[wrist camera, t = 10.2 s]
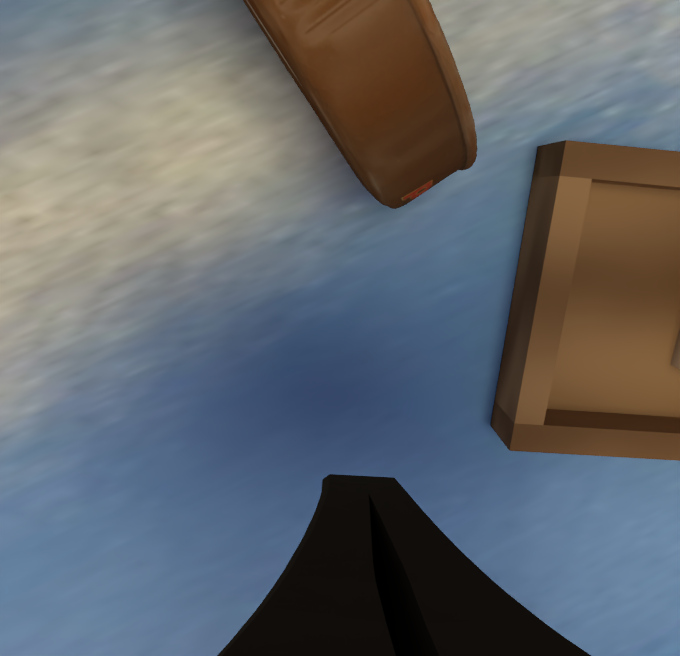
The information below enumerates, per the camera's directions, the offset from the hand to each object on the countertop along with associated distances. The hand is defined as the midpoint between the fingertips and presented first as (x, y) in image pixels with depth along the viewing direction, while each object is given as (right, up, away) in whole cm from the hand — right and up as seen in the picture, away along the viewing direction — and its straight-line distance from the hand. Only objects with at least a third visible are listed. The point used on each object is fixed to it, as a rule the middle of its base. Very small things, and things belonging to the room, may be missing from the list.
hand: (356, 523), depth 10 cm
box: (+14, +4, +9) cm, 17 cm away
